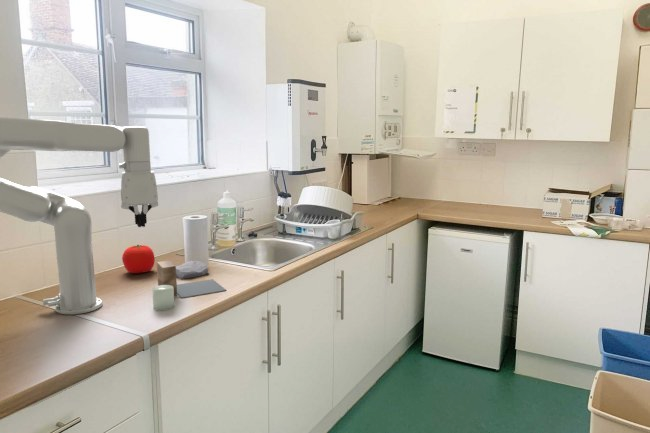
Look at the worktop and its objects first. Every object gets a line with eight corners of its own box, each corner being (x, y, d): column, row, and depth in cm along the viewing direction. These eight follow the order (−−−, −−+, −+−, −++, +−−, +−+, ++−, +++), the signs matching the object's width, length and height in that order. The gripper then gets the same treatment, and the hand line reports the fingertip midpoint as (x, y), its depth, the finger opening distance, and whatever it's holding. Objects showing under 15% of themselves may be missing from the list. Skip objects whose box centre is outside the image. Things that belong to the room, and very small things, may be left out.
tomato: (151, 266, 194) (150, 240, 192) (158, 274, 184) (157, 246, 182) (120, 270, 188) (119, 243, 186) (126, 278, 178) (124, 250, 176)
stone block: (210, 277, 186) (194, 268, 192) (211, 266, 185) (195, 256, 190) (183, 286, 177) (167, 276, 183) (184, 274, 176) (168, 264, 181)
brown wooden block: (164, 298, 158) (162, 267, 156) (158, 291, 165) (156, 262, 163) (177, 296, 160) (176, 266, 158) (171, 289, 167) (169, 260, 165)
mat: (181, 298, 158) (181, 297, 158) (169, 286, 169) (169, 285, 169) (226, 290, 165) (226, 289, 165) (212, 279, 177) (212, 279, 177)
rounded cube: (156, 311, 146) (154, 292, 145) (151, 305, 151) (150, 286, 150) (176, 308, 149) (175, 289, 148) (171, 302, 154) (170, 283, 153)
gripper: (113, 169, 145) (117, 230, 148) (165, 167, 152) (168, 226, 155) (109, 167, 151) (113, 226, 154) (160, 165, 159) (162, 222, 162)
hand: (141, 226), depth 155 cm, fingers closed
